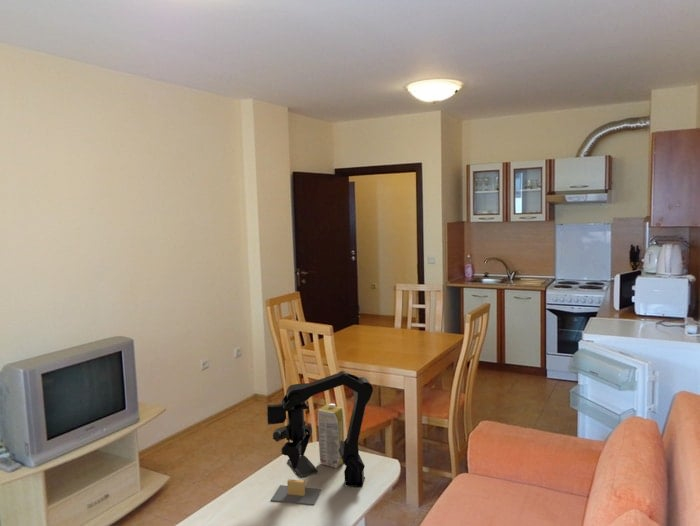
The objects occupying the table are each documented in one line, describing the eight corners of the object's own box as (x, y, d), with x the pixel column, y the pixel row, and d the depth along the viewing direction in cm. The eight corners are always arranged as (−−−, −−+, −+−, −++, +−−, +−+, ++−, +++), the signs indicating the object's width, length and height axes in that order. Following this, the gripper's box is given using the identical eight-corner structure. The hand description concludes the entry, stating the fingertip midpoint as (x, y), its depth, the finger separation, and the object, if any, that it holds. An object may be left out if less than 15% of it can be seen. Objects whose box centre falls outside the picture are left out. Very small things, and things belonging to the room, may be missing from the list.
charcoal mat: (321, 489, 193) (321, 488, 193) (314, 505, 183) (314, 504, 183) (280, 486, 197) (280, 485, 197) (270, 501, 187) (270, 500, 187)
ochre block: (305, 493, 190) (304, 480, 190) (304, 495, 189) (303, 482, 188) (289, 492, 192) (288, 479, 191) (287, 494, 190) (287, 481, 190)
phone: (299, 476, 202) (286, 459, 215) (299, 479, 202) (286, 462, 215) (318, 471, 205) (304, 454, 219) (319, 473, 205) (305, 457, 219)
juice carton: (347, 461, 214) (345, 404, 211) (336, 470, 207) (334, 411, 204) (328, 456, 219) (326, 400, 216) (317, 464, 212) (314, 406, 209)
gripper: (282, 409, 201) (285, 448, 203) (266, 431, 183) (268, 473, 185) (311, 410, 199) (313, 450, 201) (297, 432, 181) (299, 475, 182)
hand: (298, 461), depth 192 cm, fingers open, 9 cm apart
